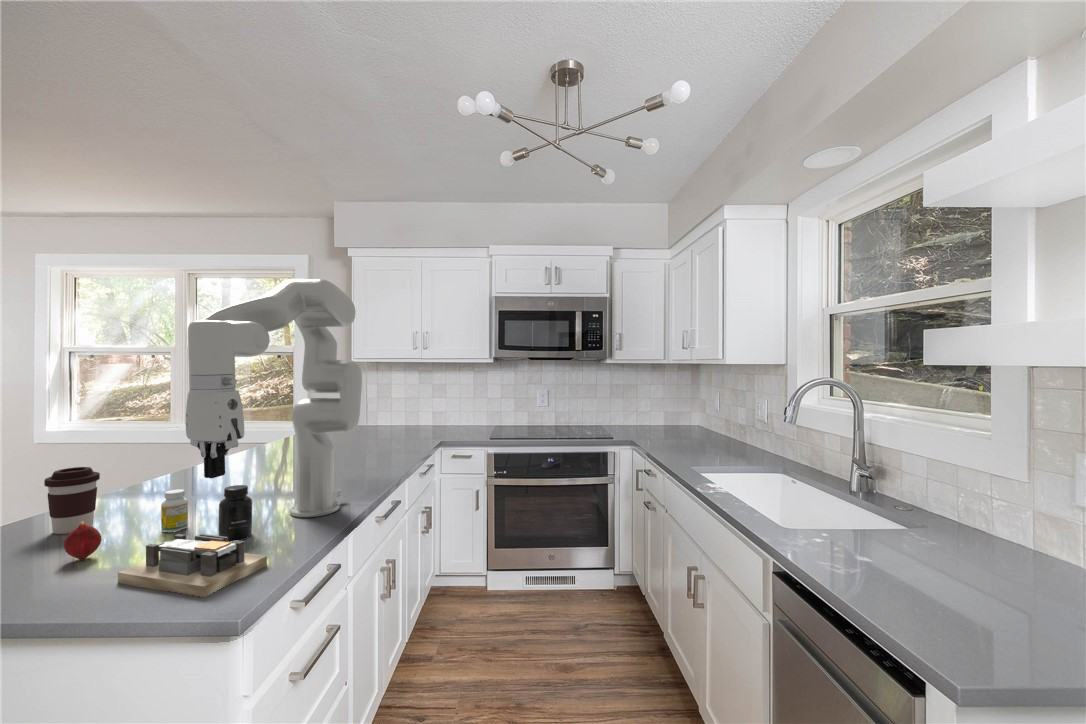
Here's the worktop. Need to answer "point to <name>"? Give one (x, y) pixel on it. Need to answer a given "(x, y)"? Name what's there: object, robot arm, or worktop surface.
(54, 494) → the coffee cup
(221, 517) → the supplement bottle
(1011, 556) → the worktop surface
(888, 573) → the worktop surface
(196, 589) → the heatsink base
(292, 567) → the worktop surface
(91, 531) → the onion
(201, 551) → the strap
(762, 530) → the worktop surface
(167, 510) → the supplement bottle
